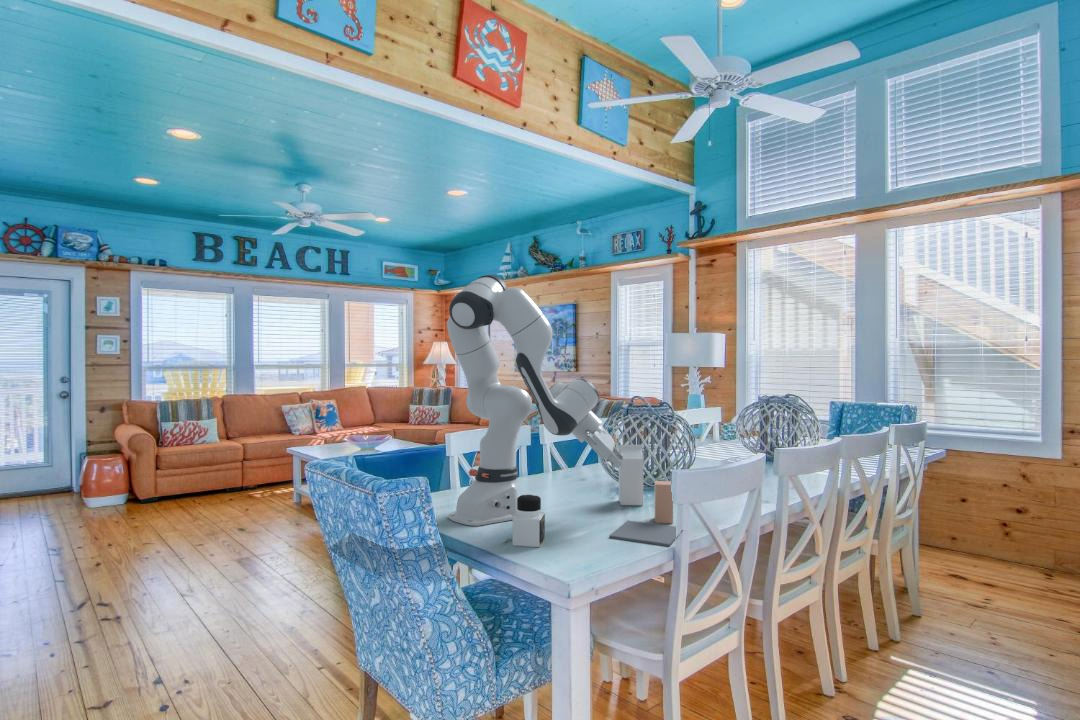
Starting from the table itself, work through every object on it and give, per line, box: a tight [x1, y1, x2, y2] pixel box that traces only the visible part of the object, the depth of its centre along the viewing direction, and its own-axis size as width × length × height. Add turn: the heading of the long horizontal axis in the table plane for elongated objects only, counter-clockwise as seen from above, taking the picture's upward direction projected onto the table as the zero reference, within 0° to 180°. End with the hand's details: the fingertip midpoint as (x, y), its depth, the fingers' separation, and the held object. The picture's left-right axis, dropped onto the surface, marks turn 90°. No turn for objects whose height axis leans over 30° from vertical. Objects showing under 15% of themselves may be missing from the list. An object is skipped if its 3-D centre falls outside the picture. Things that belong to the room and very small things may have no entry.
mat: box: [608, 520, 677, 547], centre depth 159 cm, size 16×16×1 cm
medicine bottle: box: [512, 493, 546, 548], centre depth 151 cm, size 7×7×12 cm
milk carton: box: [618, 444, 645, 506], centre depth 193 cm, size 7×7×19 cm
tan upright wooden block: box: [654, 480, 674, 524], centre depth 172 cm, size 5×5×11 cm
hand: (621, 462), depth 174 cm, fingers open, 8 cm apart
